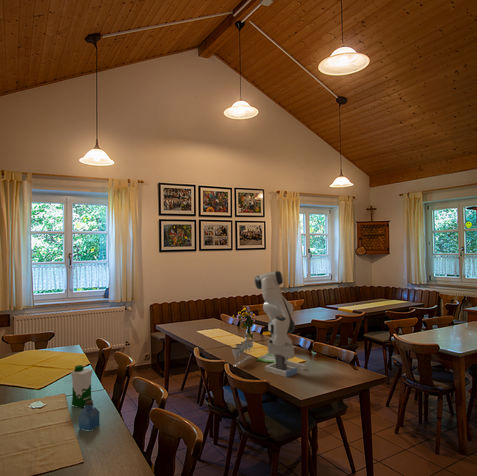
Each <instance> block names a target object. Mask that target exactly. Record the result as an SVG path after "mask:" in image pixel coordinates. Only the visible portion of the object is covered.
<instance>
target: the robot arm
mask: <svg viewBox="0 0 477 476" xmlns="http://www.w3.org/2000/svg"><path fill="white" fill-rule="evenodd" d="M283 283H284V275H283V273H282V272H281V271H279V270H276V271H271V272H267V273H264V274H263V273H262V274H260V275H256V276H255V277H254V286H255V287H256V289H258V290H261V293H262V298H263V300H264V303H263V305H262V308H263V311H264V313H265V314H266V315H267V316H268V318H269V322H268V323H267V330H268V332H269V333H270V338H269V339H268V340H267V342H268V344H267V353H270V354H274V357H275V359H276V354H277V355H281V356H282V357H284V359H285V360H284V361H283V363H284V364H286V363H287V360H288V359H290V360H291V359H294V358H295V355H296V354H295V348H296V346H295V345H294V344H293V340H292V339H291V338H289V336H288V335H289V334H290V335H291V334H292V333H293V332H294V331H295V329H296V325H295V321H294V320H293V318H292V316H291V315H292V313H293V312H294V306H293V304H292V303H291V302H289V301H288V300H287V299H286V298H285V296H283V293H282V292H281V289H280V285H282V284H283ZM288 361H289V360H288Z"/></svg>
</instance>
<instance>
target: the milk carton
mask: <svg viewBox="0 0 477 476" xmlns="http://www.w3.org/2000/svg"><path fill="white" fill-rule="evenodd" d="M93 371H94V370H93V369H90V368H86V367H85V368H84V365H79V364H78V365H76V366H74V370H72V371H71V372H70V374H71V378H72V379H71V380H72V397H71V406H72V405H74V406H77V407H84V406H85V404H86V401H88V400H92V374H93ZM77 407H76V408H77ZM84 408H85V407H84Z"/></svg>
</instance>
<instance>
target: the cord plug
mask: <svg viewBox="0 0 477 476" xmlns="http://www.w3.org/2000/svg"><path fill="white" fill-rule="evenodd" d="M284 360H285V359H284V357H282V356H281V355H277V354H276V368H277V369H280V370H284V371H285V370H287V365H286V364H284V363H283V361H284Z"/></svg>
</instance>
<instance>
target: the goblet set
mask: <svg viewBox="0 0 477 476" xmlns="http://www.w3.org/2000/svg"><path fill="white" fill-rule="evenodd" d="M253 345H254V343H253V340H252V339H247V340H244V341H241V342H240V343H237V344H235V347H232V355H233V356H234V358H235V359H234V360H235V361H236V362H235V364H232V366H233V367H239V366H240V365H243V362H244V363H245V362H246V360H249V359H251V358H253V356H252V355H245V357H243V359H241V355H242V356H244V352H247V351H248V353H250V350H251V348H252V347H253ZM237 357H238V361H237Z"/></svg>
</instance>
